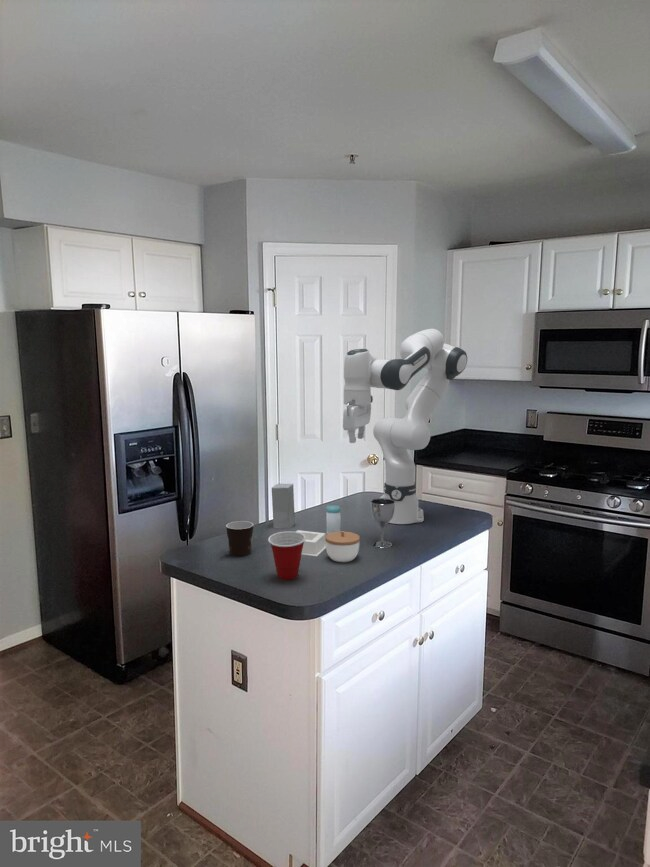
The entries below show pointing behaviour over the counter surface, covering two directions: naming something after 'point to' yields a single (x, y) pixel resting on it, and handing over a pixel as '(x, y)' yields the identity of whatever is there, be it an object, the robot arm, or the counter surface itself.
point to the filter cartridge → (333, 518)
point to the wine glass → (382, 517)
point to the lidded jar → (342, 546)
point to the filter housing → (313, 543)
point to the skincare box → (283, 506)
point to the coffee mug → (240, 538)
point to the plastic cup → (287, 553)
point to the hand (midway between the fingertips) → (356, 440)
